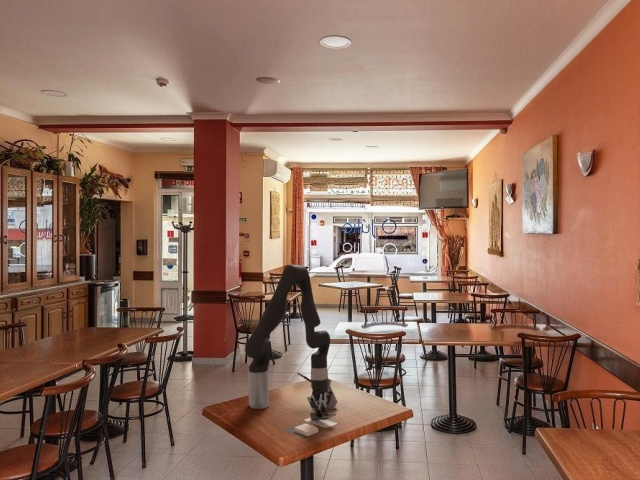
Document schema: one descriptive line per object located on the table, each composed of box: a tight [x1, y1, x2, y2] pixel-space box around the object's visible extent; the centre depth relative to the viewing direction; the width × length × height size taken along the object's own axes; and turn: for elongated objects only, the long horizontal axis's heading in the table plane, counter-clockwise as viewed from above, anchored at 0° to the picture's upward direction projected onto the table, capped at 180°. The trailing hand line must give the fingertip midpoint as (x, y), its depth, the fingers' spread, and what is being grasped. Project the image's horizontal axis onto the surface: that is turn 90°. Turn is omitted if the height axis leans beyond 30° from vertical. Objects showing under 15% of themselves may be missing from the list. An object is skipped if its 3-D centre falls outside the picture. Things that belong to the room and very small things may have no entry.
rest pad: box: [304, 416, 338, 429], centre depth 225 cm, size 14×7×1 cm, turn 44°
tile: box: [294, 423, 319, 437], centre depth 214 cm, size 2×6×8 cm
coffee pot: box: [295, 372, 338, 411], centre depth 247 cm, size 21×12×15 cm, turn 59°
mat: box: [283, 423, 321, 438], centre depth 216 cm, size 12×10×1 cm
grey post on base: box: [309, 410, 337, 420], centre depth 224 cm, size 13×4×3 cm, turn 44°
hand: (320, 416), depth 225 cm, fingers closed on grey post on base, 2 cm apart
